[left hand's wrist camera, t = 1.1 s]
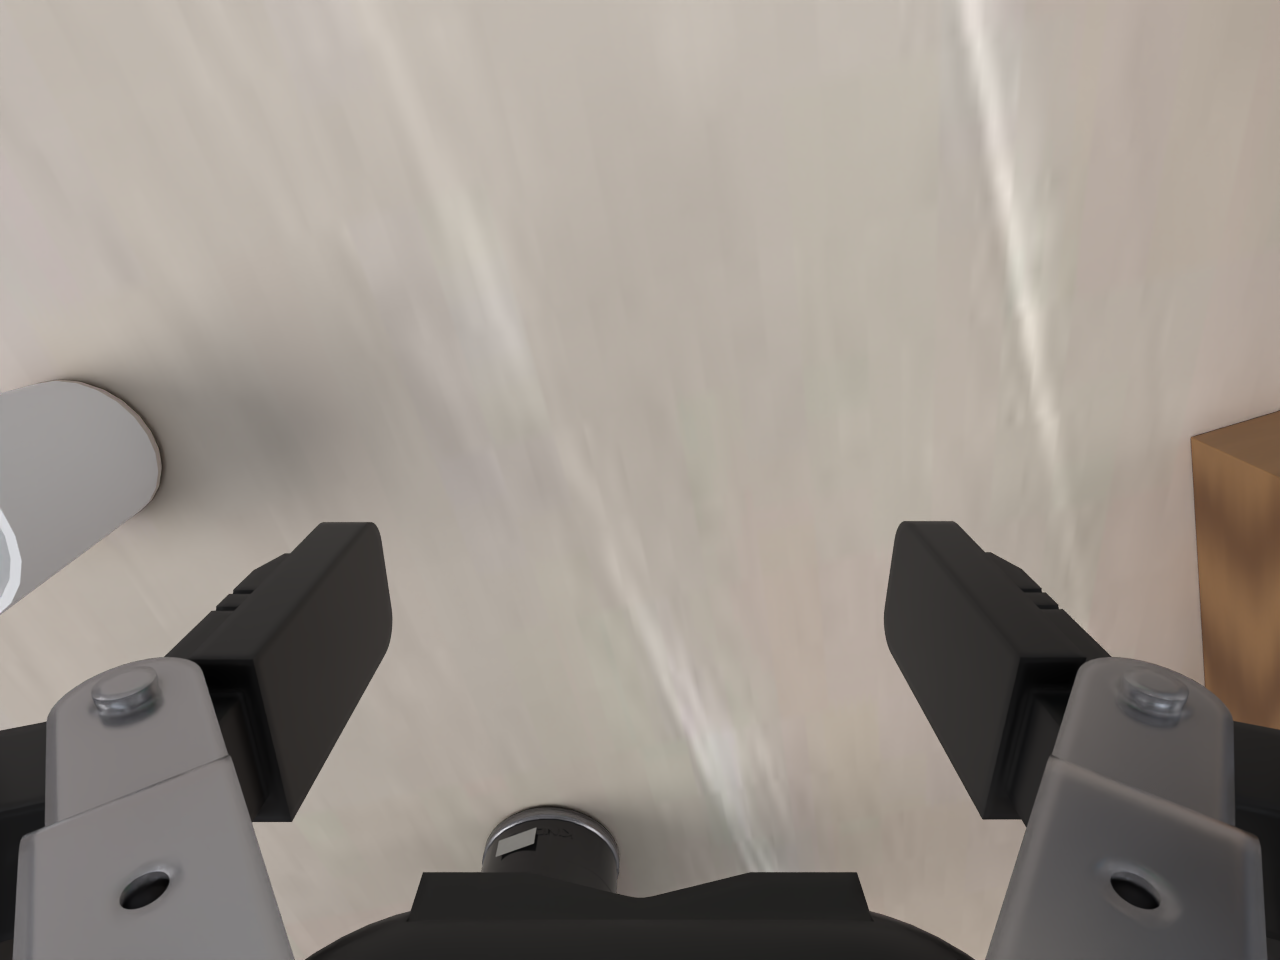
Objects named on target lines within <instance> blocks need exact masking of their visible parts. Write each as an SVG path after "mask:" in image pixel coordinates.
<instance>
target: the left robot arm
mask: <svg viewBox="0 0 1280 960" xmlns="http://www.w3.org/2000/svg"><path fill="white" fill-rule="evenodd" d="M884 629H885V636H886V641H887V644H888V647H889V650H890V652H891V654H892V656H893V657H894V659H895V661H896V663H897V665H898V667H899V668H900V670H901V672H902V674H903V676H904V677H905V679H906V681H907V683H908V685H909V687H910V688H911V690H912V692H913V694H914V696H915V697H916V699H917V701H918V703H919V705H920V707H921V708H922V710H923V712H924V714H925V716H926V717H927V719H928V721H929V723H930V725H931V726H932V728H933V730H934V732H935V734H936V736H937V737H938V739H939V741H940V743H941V745H942V746H943V748H944V750H945V752H946V754H947V756H948V757H949V759H950V761H951V763H952V765H953V766H954V768H955V770H956V772H957V774H958V776H959V777H960V779H961V781H962V783H963V785H964V786H965V788H966V790H967V792H968V794H969V796H970V797H971V799H972V801H973V803H974V805H975V806H976V808H977V810H978V812H979V814H980V816H981V817H982V819H1022V821H1023V822H1024V824H1025V826H1026V827H1027V828H1026V831H1025V835H1024V838H1023V841H1022V844H1021V847H1020V851H1019V854H1018V857H1017V860H1016V863H1015V866H1014V870H1013V873H1012V876H1011V879H1010V882H1009V886H1008V889H1007V892H1006V895H1005V898H1004V902H1003V905H1002V908H1001V911H1000V914H999V917H998V921H997V924H996V927H995V930H994V933H993V937H992V940H991V943H990V946H989V949H988V953H987V956H986V959H985V960H1280V730H1279V729H1273V728H1268V727H1263V726H1258V725H1253V724H1248V723H1242V722H1237V721H1233V718H1232V715H1231V713H1230V711H1229V709H1228V708H1227V707H1226V705H1225V704H1224V703H1223V702H1222V701H1221V700H1220V699H1219V698H1218V697H1217V696H1216V695H1215V694H1213V693H1212V692H1211V691H1209V690H1208V689H1207V688H1205V687H1204V686H1202V685H1201V684H1199V683H1197V682H1196V681H1194V680H1192V679H1190V678H1188V677H1186V676H1184V675H1182V674H1180V673H1178V672H1175V671H1173V670H1170V669H1168V668H1165V667H1162V666H1159V665H1156V664H1152V663H1149V662H1145V661H1140V660H1135V659H1130V658H1121V657H1111V656H1110V655H1109V654H1108V653H1107V652H1106V651H1105V650H1104V649H1103V648H1102V647H1101V646H1100V645H1099V644H1098V643H1097V642H1096V641H1095V640H1094V639H1093V638H1092V637H1091V636H1090V635H1089V634H1088V633H1087V632H1086V631H1085V630H1084V629H1082V628H1081V627H1080V626H1079V625H1078V624H1077V623H1076V622H1075V621H1074V620H1073V619H1072V618H1071V617H1070V616H1069V615H1068V614H1067V613H1066V612H1065V611H1064V610H1063V609H1059V608H1058V604H1057V603H1056V602H1055V601H1054V600H1053V599H1052V598H1051V597H1050V596H1049V595H1048V594H1047V593H1042V589H1041V588H1040V587H1039V586H1038V585H1037V584H1036V583H1035V582H1034V581H1033V580H1032V579H1031V578H1030V577H1029V576H1028V575H1027V574H1026V573H1025V572H1024V571H1023V570H1022V569H1021V568H1019V567H1017V566H1015V565H1013V564H1011V563H1009V562H1008V561H1006V560H1004V559H1002V558H1000V557H998V556H996V555H995V554H993V553H991V552H984V551H983V550H982V549H981V548H980V547H979V546H978V545H977V544H976V543H975V542H974V541H973V540H972V539H971V537H970V536H969V535H968V534H967V533H966V532H965V531H964V530H963V529H962V528H961V527H960V526H959V525H958V524H957V523H955V522H953V521H904V522H902V523H901V524H900V525H899V527H898V529H897V532H896V535H895V541H894V547H893V554H892V561H891V568H890V575H889V582H888V589H887V595H886V602H885V610H884ZM391 632H392V609H391V602H390V595H389V588H388V582H387V575H386V568H385V561H384V555H383V548H382V541H381V536H380V532H379V530H378V528H377V526H376V525H375V524H374V523H372V522H323V523H320V524H319V525H318V526H317V527H316V528H315V529H314V530H313V531H312V532H311V533H310V534H309V535H308V536H307V537H306V538H305V539H304V540H303V541H302V542H301V543H300V544H299V545H298V546H297V547H296V548H295V549H294V550H293V551H292V552H291V553H285V554H283V555H281V556H279V557H277V558H276V559H274V560H272V561H270V562H268V563H266V564H264V565H263V566H261V567H259V568H257V569H255V570H253V571H252V572H251V573H250V574H249V575H248V576H247V577H246V578H245V579H244V580H243V581H242V582H241V583H240V584H239V585H238V586H237V587H236V588H235V589H234V590H233V594H229V595H228V596H227V597H226V598H225V599H223V600H222V601H221V602H220V603H219V604H218V605H217V606H216V611H211V612H210V613H209V614H208V615H207V616H206V617H205V618H204V619H203V620H202V621H201V622H200V623H199V624H198V625H197V626H196V627H195V628H193V629H192V630H191V631H190V632H189V633H188V634H187V635H186V636H185V637H184V638H183V639H182V640H181V641H180V642H179V643H178V644H177V645H176V646H175V647H174V648H173V649H172V650H171V651H170V652H169V653H168V654H167V655H166V656H165V657H159V658H151V659H145V660H140V661H135V662H131V663H128V664H124V665H121V666H118V667H115V668H112V669H110V670H107V671H105V672H102V673H100V674H98V675H96V676H94V677H92V678H90V679H88V680H86V681H84V682H83V683H81V684H79V685H78V686H76V687H75V688H73V689H72V690H71V691H69V692H68V693H67V694H65V695H64V696H63V697H62V698H61V699H60V700H59V701H58V702H57V703H56V704H55V705H54V707H53V708H52V709H51V711H50V713H49V715H48V718H47V722H43V723H38V724H32V725H27V726H22V727H17V728H12V729H7V730H1V731H0V960H295V959H294V956H293V952H292V949H291V946H290V943H289V940H288V937H287V933H286V930H285V927H284V924H283V921H282V917H281V914H280V911H279V908H278V905H277V902H276V898H275V895H274V892H273V889H272V886H271V882H270V879H269V876H268V873H267V870H266V866H265V863H264V860H263V857H262V854H261V851H260V847H259V844H258V841H257V838H256V835H255V831H254V828H253V825H252V822H292V821H293V819H294V817H295V815H296V813H297V812H298V810H299V808H300V806H301V804H302V803H303V801H304V799H305V797H306V795H307V794H308V792H309V790H310V788H311V786H312V785H313V783H314V781H315V779H316V778H317V776H318V774H319V772H320V770H321V769H322V767H323V765H324V763H325V761H326V760H327V758H328V756H329V754H330V752H331V751H332V749H333V747H334V745H335V743H336V742H337V740H338V738H339V736H340V734H341V733H342V731H343V729H344V727H345V725H346V724H347V722H348V720H349V718H350V716H351V715H352V713H353V711H354V709H355V707H356V706H357V704H358V702H359V700H360V699H361V697H362V695H363V693H364V691H365V690H366V688H367V686H368V684H369V682H370V681H371V679H372V677H373V675H374V673H375V672H376V670H377V668H378V666H379V664H380V663H381V661H382V659H383V657H384V655H385V654H386V651H387V649H388V646H389V643H390V638H391ZM618 874H619V852H618V848H617V845H616V842H615V840H614V839H613V837H612V836H611V834H610V833H609V832H608V831H607V830H606V829H605V828H604V827H603V826H602V825H601V824H600V823H598V822H597V821H595V820H594V819H592V818H590V817H588V816H586V815H584V814H582V813H579V812H576V811H572V810H568V809H563V808H553V807H544V808H535V809H529V810H525V811H522V812H519V813H517V814H514V815H512V816H510V817H509V818H507V819H505V820H504V821H502V822H501V823H500V824H499V825H498V826H497V827H496V828H495V829H494V830H493V831H492V833H491V834H490V836H489V838H488V840H487V843H486V847H485V851H484V855H483V861H482V870H481V872H423V874H422V878H421V881H420V884H419V887H418V890H417V893H416V896H415V899H414V902H413V906H412V909H411V911H409V912H405V913H401V914H398V915H395V916H392V917H389V918H386V919H383V920H380V921H378V922H375V923H372V924H369V925H367V926H365V927H363V928H361V929H358V930H356V931H354V932H352V933H350V934H348V935H346V936H343V937H341V938H340V939H338V940H336V941H335V942H333V943H331V944H329V945H328V946H326V947H324V948H322V949H321V950H319V951H317V952H316V953H314V954H312V955H311V956H310V957H308V958H307V959H305V960H975V959H973V958H972V957H970V956H969V955H968V954H966V953H964V952H963V951H961V950H959V949H958V948H956V947H954V946H952V945H951V944H949V943H947V942H945V941H944V940H942V939H940V938H939V937H937V936H934V935H932V934H930V933H928V932H926V931H924V930H922V929H919V928H917V927H915V926H913V925H911V924H908V923H905V922H902V921H900V920H897V919H894V918H891V917H888V916H885V915H882V914H879V913H875V912H871V911H869V909H868V906H867V902H866V899H865V896H864V893H863V890H862V887H861V884H860V881H859V878H858V874H857V872H750V873H746V874H742V875H738V876H734V877H730V878H726V879H721V880H717V881H713V882H709V883H705V884H701V885H697V886H693V887H689V888H685V889H681V890H677V891H672V892H668V893H664V894H660V895H656V896H652V897H646V898H634V897H628V896H624V895H620V894H617V879H618Z"/></svg>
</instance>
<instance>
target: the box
mask: <svg viewBox="0 0 1280 960" xmlns="http://www.w3.org/2000/svg"><path fill="white" fill-rule="evenodd" d="M1191 448H1192V465H1193V482H1194V500H1195V517H1196V534H1197V551H1198V569H1199V586H1200V603H1201V621H1202V638H1203V655H1204V673H1205V688H1207V689H1208V690H1209V691H1211V692H1212V693H1213V694H1215V695H1216V696H1217V697H1218V698H1219V699H1220V700H1221V701H1222V702H1223V703H1224V704H1225V705H1226V707H1227V708H1228V709H1229V711H1230V713H1231V715H1232V718H1233V721H1237V722H1242V723H1248V724H1253V725H1258V726H1263V727H1268V728H1273V729H1279V730H1280V411H1278V412H1275V413H1271V414H1268V415H1265V416H1261V417H1258V418H1254V419H1251V420H1248V421H1244V422H1241V423H1238V424H1234V425H1231V426H1228V427H1224V428H1221V429H1218V430H1214V431H1211V432H1207V433H1204V434H1201V435H1197V436H1194V437H1191Z"/></svg>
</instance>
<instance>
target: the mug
mask: <svg viewBox="0 0 1280 960" xmlns="http://www.w3.org/2000/svg"><path fill="white" fill-rule="evenodd" d="M161 470H162V465H161V458H160V452H159V448H158V446H157V444H156V441H155V439H154V437H153V434H152V432H151V431H150V429H149V428H148V427H147V425H146V424H145V423H144V421H143V420H142V419H141V417H140V416H139V415H138V414H137V413H136V412H135V411H134V410H133V409H132V408H130V407H129V406H128V405H127V404H126V403H125V402H124V401H122V400H121V399H119V398H117V397H116V396H114V395H112V394H110V393H109V392H107V391H105V390H103V389H100V388H97V387H94V386H92V385H89V384H86V383H83V382H79V381H69V380H53V381H47V382H41V383H37V384H34V385H30V386H26V387H22V388H18V389H14V390H11V391H7V392H3V393H0V615H1V614H2V613H3V612H5V611H6V610H7V609H9V608H10V607H11V606H13V605H14V604H15V603H17V602H18V601H20V600H21V599H22V598H24V597H25V596H26V595H28V594H29V593H30V592H32V591H33V590H34V589H36V588H37V587H38V586H40V585H41V584H42V583H44V582H45V581H46V580H48V579H49V578H50V577H52V576H53V575H55V574H56V573H57V572H59V571H60V570H61V569H63V568H64V567H65V566H67V565H68V564H69V563H71V562H72V561H73V560H75V559H76V558H77V557H79V556H80V555H81V554H83V553H84V552H86V551H87V550H88V549H90V548H91V547H92V546H94V545H95V544H96V543H98V542H99V541H100V540H102V539H103V538H104V537H106V536H107V535H108V534H110V533H111V532H112V531H114V530H115V529H116V528H118V527H119V526H121V525H122V524H123V523H125V522H126V521H127V520H129V519H130V518H131V517H133V516H134V515H135V514H137V513H138V512H140V511H141V510H142V509H143V508H144V507H145V506H146V505H147V504H148V503H149V502H151V501H152V499H153V497H154V495H155V493H156V491H157V489H158V487H159V484H160V477H161Z"/></svg>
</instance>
